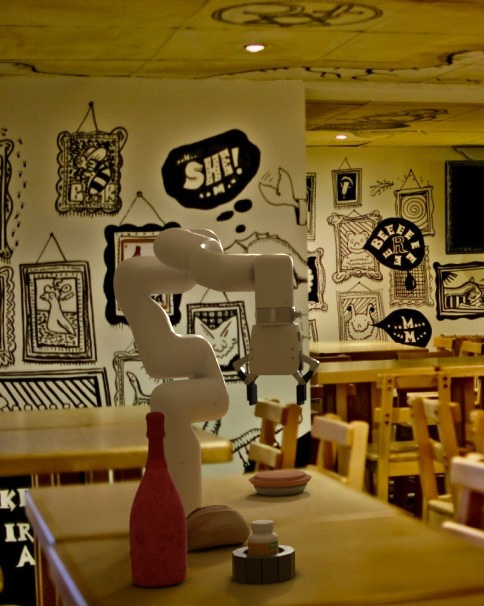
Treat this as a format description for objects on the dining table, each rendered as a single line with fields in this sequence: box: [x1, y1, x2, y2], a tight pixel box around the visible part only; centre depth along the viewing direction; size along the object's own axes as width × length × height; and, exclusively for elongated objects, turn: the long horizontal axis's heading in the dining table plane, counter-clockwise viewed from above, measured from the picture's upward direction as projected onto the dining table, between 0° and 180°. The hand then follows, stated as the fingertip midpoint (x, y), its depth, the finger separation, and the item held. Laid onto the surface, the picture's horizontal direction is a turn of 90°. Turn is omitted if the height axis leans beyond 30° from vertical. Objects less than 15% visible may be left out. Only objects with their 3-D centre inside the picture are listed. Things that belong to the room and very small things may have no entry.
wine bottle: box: [128, 411, 188, 588], centre depth 217 cm, size 10×10×30 cm
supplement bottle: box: [247, 519, 279, 556], centre depth 220 cm, size 5×5×10 cm
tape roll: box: [231, 544, 296, 585], centre depth 220 cm, size 11×11×4 cm
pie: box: [248, 469, 312, 497], centre depth 308 cm, size 16×16×5 cm
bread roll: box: [186, 504, 251, 550], centre depth 246 cm, size 10×15×8 cm, turn 130°
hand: (276, 404), depth 242 cm, fingers open, 9 cm apart
